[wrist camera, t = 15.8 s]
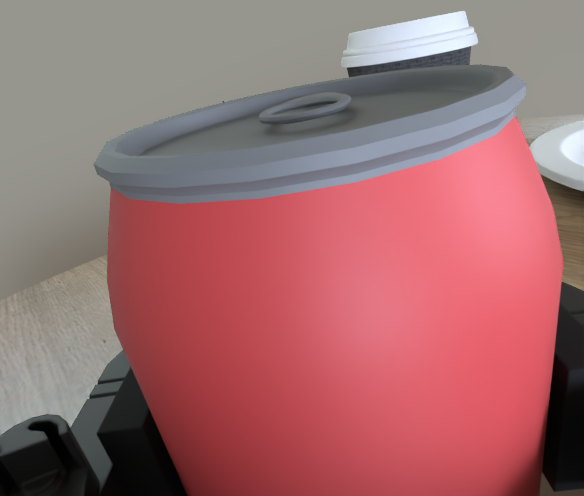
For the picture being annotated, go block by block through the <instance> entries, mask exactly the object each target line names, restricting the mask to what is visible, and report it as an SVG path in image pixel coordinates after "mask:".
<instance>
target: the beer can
mask: <svg viewBox="0 0 584 496" xmlns="http://www.w3.org/2000/svg"><path fill="white" fill-rule="evenodd" d="M525 97H526V84H525V83H524V82H523V81H522V80H521V79H520V78H519V77H517V76H516V75H515V74H514V73H513V72H512V71H510V70H509V69H508V68H506V67H498V66H489V65H455V66H438V67H427V68H417V69H406V70H398V71H390V72H383V73H376V74H368V75H361V76H355V77H349V78H343V79H336V80H330V81H324V82H319V83H314V84H308V85H303V86H297V87H292V88H287V89H282V90H277V91H272V92H268V93H263V94H258V95H254V96H250V97H245V98H240V99H236V100H232V101H228V102H224V103H220V104H216V105H212V106H208V107H204V108H200V109H196V110H193V111H189V112H186V113H182V114H179V115H176V116H172V117H169V118H165V119H162V120H159V121H156V122H153V123H151V124H148V125H145V126H142V127H139V128H136V129H134V130H131V131H128V132H126V133H125V134H122V135H120V136H118V137H116V138H114V139H112V140H110V141H109V142H107V143H106V144H105V146H104V147H103V149H102V150H101V152H100V154H99V155H98V157H97V159H96V161H95V163H94V166H95V169H96V172H97V174H98V175H99V176H101V177H103V178H104V179H106V180H108V181H109V182H110V186H111V195H110V213H109V214H110V215H109V232H108V267H107V283H108V289H109V296H110V303H111V309H112V316H113V323H114V329H115V331H116V334H117V336H118V338H119V341H120V343H121V345H122V347H123V350H124V352H125V354H126V357H127V359H128V361H129V364H130V366H131V368H132V370H133V373H134V375H135V377H136V380H137V382H138V384H139V386H140V389H141V391H142V393H143V396H144V398H145V400H146V402H147V405H148V407H149V409H150V412H151V414H152V416H153V418H154V421H155V423H156V425H157V428H158V430H159V432H160V434H161V437H162V439H163V441H164V444H165V446H166V448H167V450H168V453H169V455H170V457H171V460H172V462H173V464H174V466H175V469H176V471H177V473H178V476H179V478H180V480H181V482H182V485H183V487H184V489H185V492H186V494H187V496H539V494H540V485H541V475H542V466H543V456H544V446H545V437H546V427H547V417H548V408H549V398H550V388H551V379H552V369H553V360H554V350H555V340H556V331H557V321H558V311H559V302H560V292H561V282H562V273H563V257H562V252H561V246H560V241H559V235H558V230H557V224H556V219H555V213H554V209H553V206H552V204H551V201H550V198H549V196H548V193H547V191H546V188H545V186H544V183H543V180H542V178H541V175H540V173H539V170H538V167H537V165H536V162H535V160H534V158H533V155H532V153H531V150H530V148H529V146H528V143H527V141H526V139H525V136H524V134H523V132H522V129H521V127H520V124H519V122H518V120H517V118H516V111H515V109H516V107H517V106H518V104H519V103H520V102H521V101H522V100H523V99H524V98H525Z"/></svg>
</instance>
